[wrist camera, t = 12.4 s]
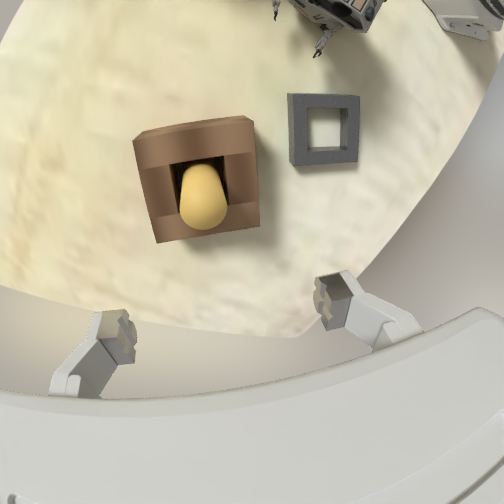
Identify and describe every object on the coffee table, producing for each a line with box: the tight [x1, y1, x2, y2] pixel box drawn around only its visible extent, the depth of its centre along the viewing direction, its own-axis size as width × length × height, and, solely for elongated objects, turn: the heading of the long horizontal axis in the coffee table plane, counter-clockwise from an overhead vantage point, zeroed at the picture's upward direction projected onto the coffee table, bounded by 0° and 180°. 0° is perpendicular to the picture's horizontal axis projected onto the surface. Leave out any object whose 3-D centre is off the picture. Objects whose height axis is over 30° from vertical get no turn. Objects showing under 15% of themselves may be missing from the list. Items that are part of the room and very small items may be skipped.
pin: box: [180, 157, 227, 230], centre depth 28 cm, size 4×4×12 cm
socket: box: [133, 116, 260, 243], centre depth 30 cm, size 12×12×6 cm
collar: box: [287, 93, 360, 166], centre depth 31 cm, size 9×9×2 cm
